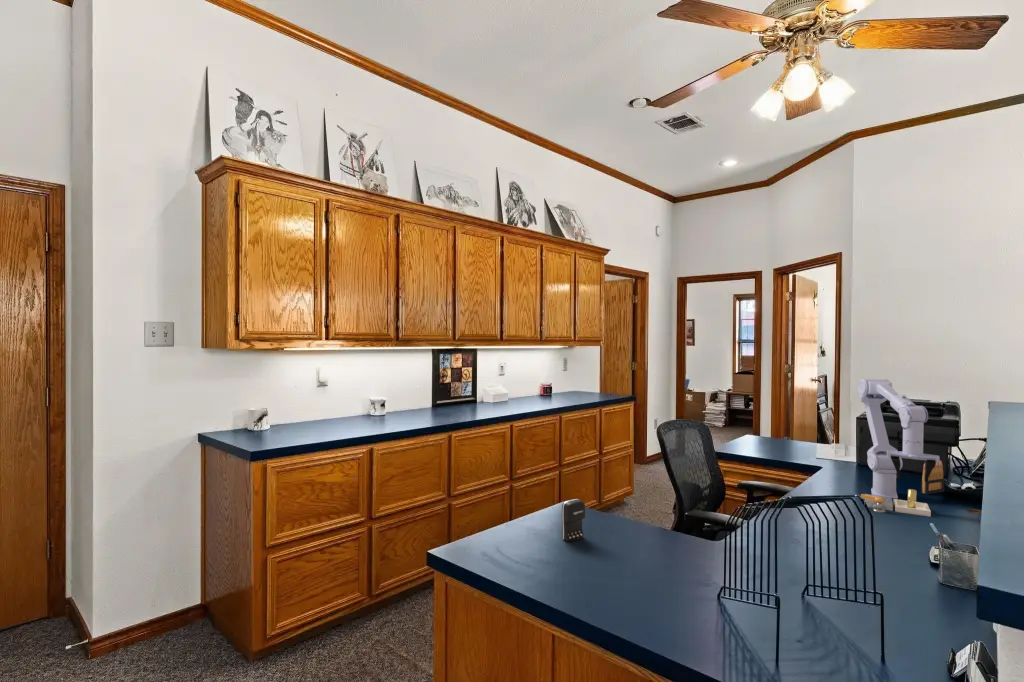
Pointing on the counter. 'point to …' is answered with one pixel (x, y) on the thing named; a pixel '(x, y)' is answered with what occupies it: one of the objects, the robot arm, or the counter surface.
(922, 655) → the counter surface
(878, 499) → the keeper
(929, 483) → the ammunition clip
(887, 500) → the hitch block
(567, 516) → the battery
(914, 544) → the counter surface
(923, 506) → the tray
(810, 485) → the counter surface
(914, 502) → the pin
